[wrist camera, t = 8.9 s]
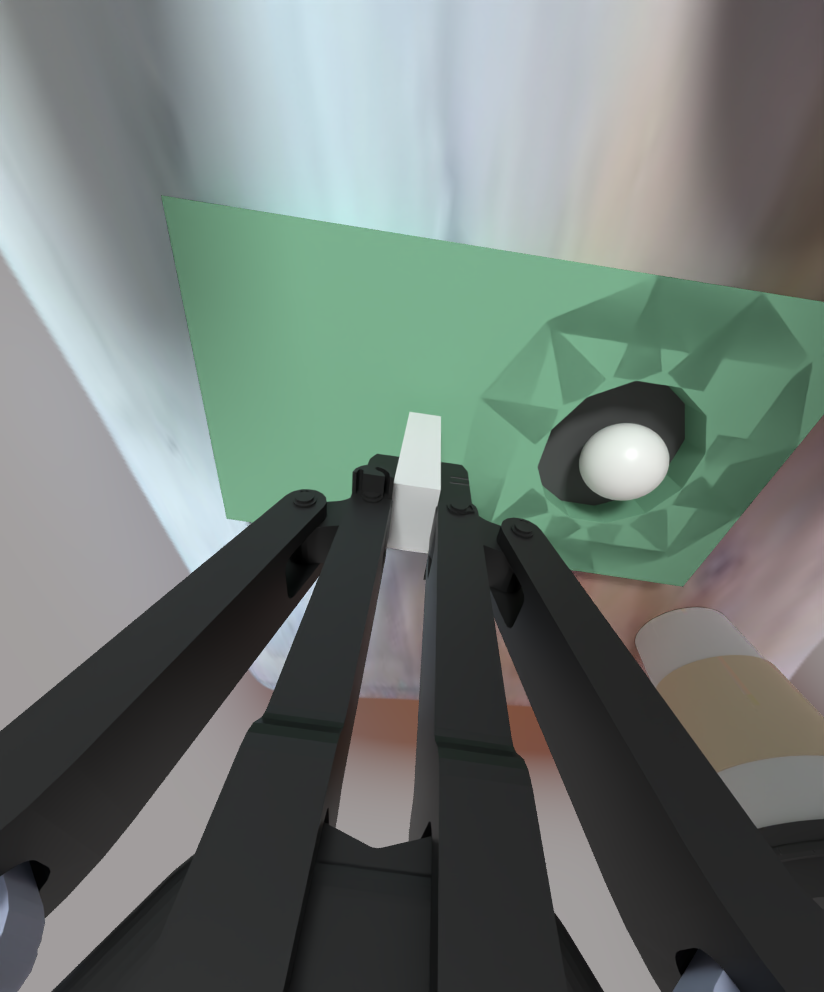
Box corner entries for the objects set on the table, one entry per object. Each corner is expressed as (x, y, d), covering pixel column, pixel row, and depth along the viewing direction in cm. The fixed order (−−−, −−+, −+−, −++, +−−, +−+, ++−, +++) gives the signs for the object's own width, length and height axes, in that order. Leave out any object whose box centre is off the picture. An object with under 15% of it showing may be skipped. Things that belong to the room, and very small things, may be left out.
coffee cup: (597, 650, 30) (708, 921, 18) (674, 583, 25) (902, 890, 13) (685, 676, 31) (848, 948, 19) (774, 617, 26) (1074, 930, 14)
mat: (191, 203, 15) (160, 195, 14) (855, 310, 16) (905, 314, 14) (241, 501, 24) (226, 518, 22) (666, 564, 24) (682, 586, 23)
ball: (612, 433, 15) (704, 453, 15) (590, 405, 19) (666, 421, 18) (575, 505, 18) (655, 523, 17) (561, 468, 21) (628, 483, 21)
